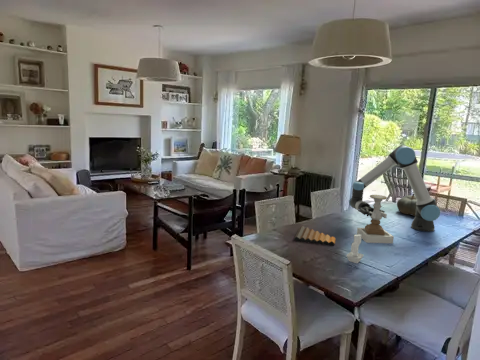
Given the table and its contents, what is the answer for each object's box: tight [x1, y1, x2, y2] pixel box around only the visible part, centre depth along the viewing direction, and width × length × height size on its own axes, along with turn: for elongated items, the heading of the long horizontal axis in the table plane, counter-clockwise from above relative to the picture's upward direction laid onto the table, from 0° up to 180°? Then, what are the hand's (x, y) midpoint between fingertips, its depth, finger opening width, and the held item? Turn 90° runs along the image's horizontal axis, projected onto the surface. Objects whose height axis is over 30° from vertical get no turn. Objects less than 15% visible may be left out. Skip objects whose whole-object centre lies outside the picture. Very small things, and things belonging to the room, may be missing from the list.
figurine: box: [345, 234, 365, 264], centre depth 190 cm, size 7×9×15 cm
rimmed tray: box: [356, 227, 395, 244], centre depth 230 cm, size 17×17×4 cm
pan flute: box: [293, 225, 336, 247], centre depth 229 cm, size 25×3×25 cm
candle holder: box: [364, 194, 388, 235], centre depth 227 cm, size 11×11×24 cm
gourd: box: [396, 193, 417, 217], centre depth 295 cm, size 25×25×17 cm
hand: (380, 216), depth 223 cm, fingers closed on candle holder, 7 cm apart
